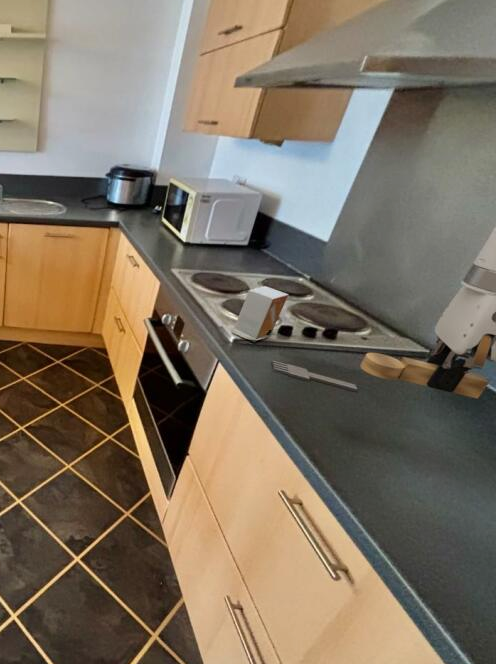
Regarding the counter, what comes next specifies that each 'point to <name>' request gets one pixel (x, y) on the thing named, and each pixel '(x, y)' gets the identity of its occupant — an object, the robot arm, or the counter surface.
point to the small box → (260, 311)
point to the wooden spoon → (418, 373)
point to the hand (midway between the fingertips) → (435, 382)
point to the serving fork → (310, 375)
